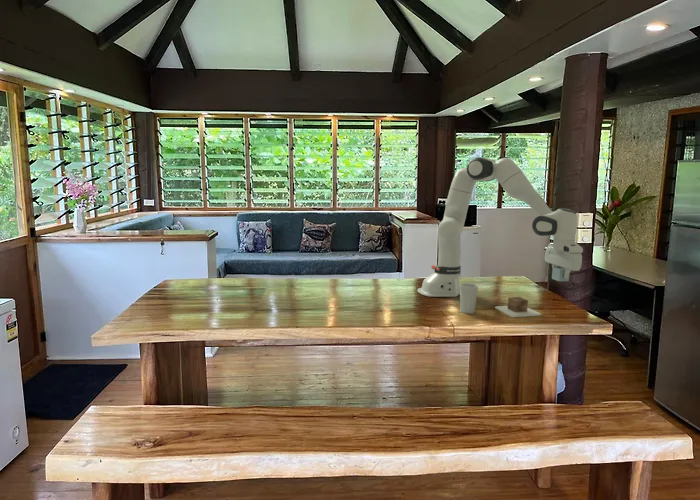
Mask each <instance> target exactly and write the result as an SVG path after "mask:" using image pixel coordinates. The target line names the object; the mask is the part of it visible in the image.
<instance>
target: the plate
mask: <svg viewBox="0 0 700 500" xmlns="http://www.w3.org/2000/svg"><path fill="white" fill-rule="evenodd" d="M494 309H496V310H498V311H499V312H501V313H503V314H505V315H507V316H509V317H511V318H523V317H525V318H526V317H536V316H542V314H541V313H540V312H538V311H536V310H534V309H532V308H530V307H528V308H527V311H524V312H514V311H512V310H510V309H508V305H498V306H494Z"/></svg>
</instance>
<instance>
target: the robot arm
mask: <svg viewBox="0 0 700 500" xmlns="http://www.w3.org/2000/svg"><path fill="white" fill-rule="evenodd" d="M494 180H496V181H497V182H498V183H499V185H501V188H503V190H504V191H505V192H506V193H507V195H508V196H510V197H511V198H513V199H516V200H519V201H522V202H524V204H525V203H526V204H527V205H528V206H529V207H530V209H531V210H532V211H533V212H534V213H535V214H536V215H537V217H535V218H534V219H533V220H532V224H531V228H532V231H533V233H535V234H536V235H538V236H540V237H548V236H549V237H550V236H553V242H549V243H548V244H547V247H546V250H545V254H544V261H545V263H548V264H550V265H551V268H552V269H553V268H565V273H564V274H563V278H568V275H569V276H570V274H571V272H572V271H580V270H581V269H582V263H583V255H582V253H583V252H584V248H583V247H582V246H581V245H580V244H578V243H577V242H576V239H577V238H576V232H577V230H578V214H577V212H576V211H575V210H573V209H571V208H563V207H560V208H558V209H556V210H555V211H554V210H552V209H551V208H550V206H549V205H548V204H547V203H546V202H545V200H544V199H543V198H542V197H541V195H540V194H539V193H538V192H537V191H536V189H535V188H534V186H533V185H532V183H531V182H530V181H529V179H528V178H527V175H526V174H525V173H524V172H523V170H522V169H521V168H520V167H519V166H518V165H517V164H516V163H515V162H514V160H512V159H511V158H509V157H502V158H500V159H498V160H497V161H495V160H494V159H491V158H488V157H474V158H471V160H469V161H468V163H467V165H466V167H461V168H459V169H457V170H456V172H455V174H454V176H453V178H452V181H451V184H450V188H449V190H448V193H447V194H448V195H447V197H446V198H447V199H446V202H445V209H444V213H443V218H442V220H441V221H440V222H439V224H438V227H437V241H438V243H437V244H438V259H437V264H436V265H434V264H432V265H431V267H430V268H431V269H432V270H434V271H433V272H432V273H431V274H429V275H428V276H427V277H425V278H424V279H423V280H422V284H421V285H422V286H421V287H419V288H417V293H419V294H421V295H423V296H425V297H430V298H431V297H432V298H433V297H436V298H437V297H443V298H444V297H454V298H455V297H458V296H460V284H461V278H460V276H461V269H462V267H461V253H462V252H461V250H462V249H461V233H463V230H464V227H465V221H466V219H467V213H468V209H469V206H470V201H471V199H472V195H473V191H474V188H475V185H476V184H477V183H478V182H479V183H481V182H484V183H485V182H492V181H494ZM569 273H570V274H569Z"/></svg>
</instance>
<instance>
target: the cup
mask: <svg viewBox="0 0 700 500" xmlns="http://www.w3.org/2000/svg"><path fill="white" fill-rule="evenodd" d="M478 290H479V285H478V284H475V283H467V282H465V283H460V294H459V304H460V305H459V307H460V309H459V311H460V312H461V313H464V314H474V313H475V311H476V305H477V295H478Z"/></svg>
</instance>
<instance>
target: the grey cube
mask: <svg viewBox="0 0 700 500" xmlns="http://www.w3.org/2000/svg"><path fill="white" fill-rule="evenodd" d="M564 273H565V268H563V267H557V268H552V272H551V279H552V280H554V281H556V282H570V281H569V280H570V274H571V272H570V273H569V275H568V278H563V274H564Z"/></svg>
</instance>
